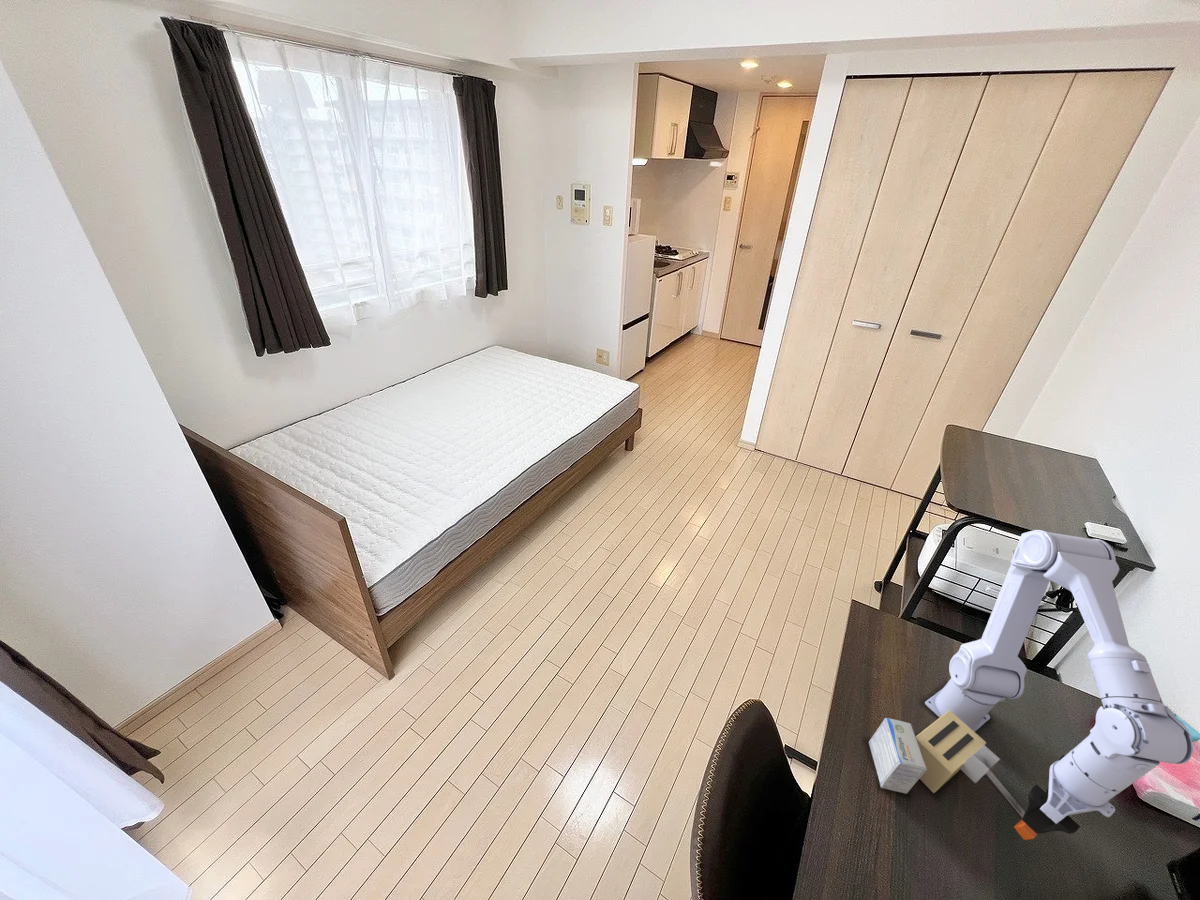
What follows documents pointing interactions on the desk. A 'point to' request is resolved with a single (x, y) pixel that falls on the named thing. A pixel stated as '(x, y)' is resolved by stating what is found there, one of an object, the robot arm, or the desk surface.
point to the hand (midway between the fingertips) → (1042, 812)
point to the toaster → (952, 752)
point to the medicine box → (897, 755)
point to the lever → (1021, 825)
